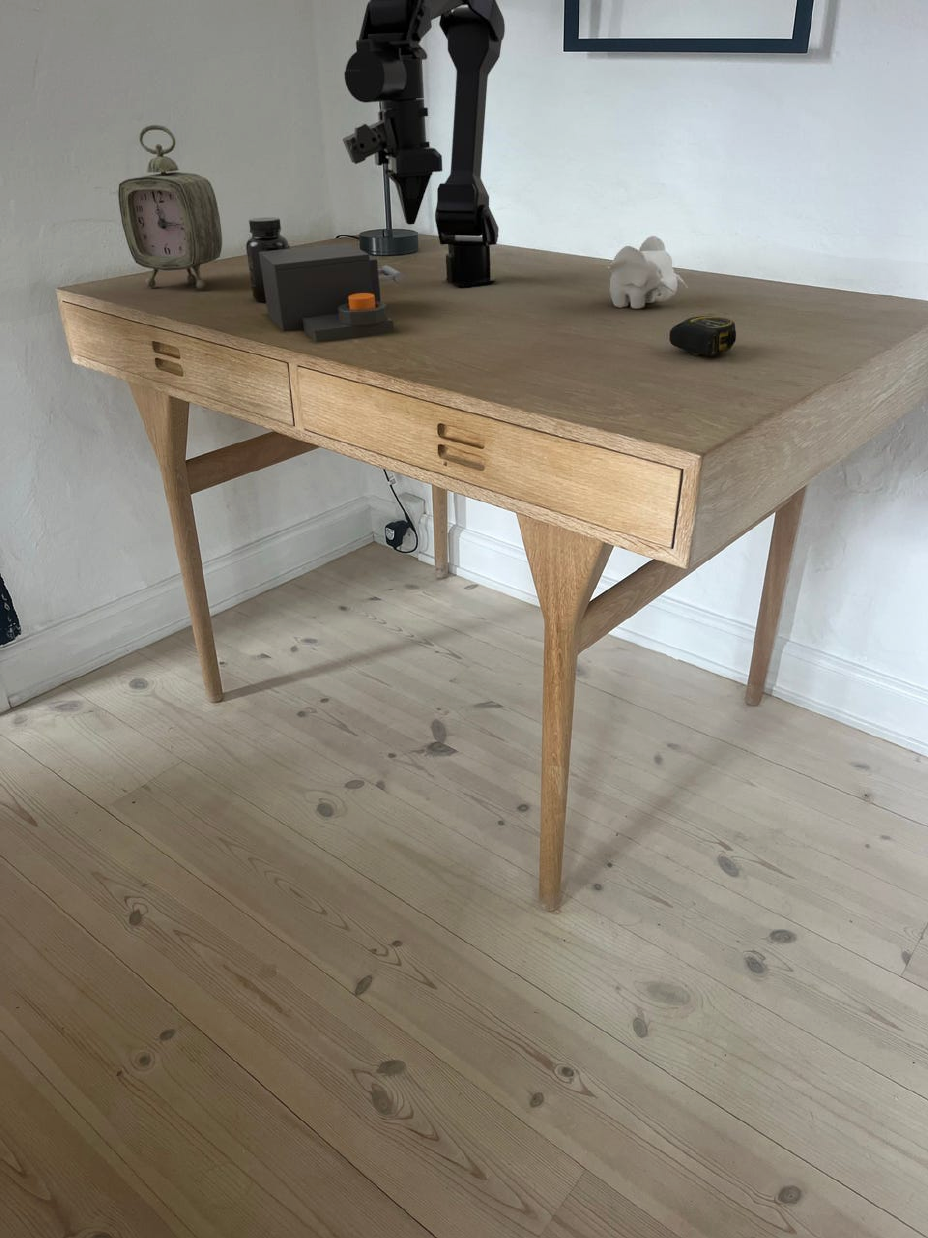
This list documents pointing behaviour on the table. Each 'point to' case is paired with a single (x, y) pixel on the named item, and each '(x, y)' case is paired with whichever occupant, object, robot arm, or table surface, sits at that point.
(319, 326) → the pad
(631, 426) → the table surface
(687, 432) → the table surface
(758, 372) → the table surface
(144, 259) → the tabletop clock
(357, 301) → the button
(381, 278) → the box with white handle
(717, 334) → the tape measure
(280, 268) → the grey lidded box
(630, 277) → the elephant figurine
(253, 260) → the supplement bottle
